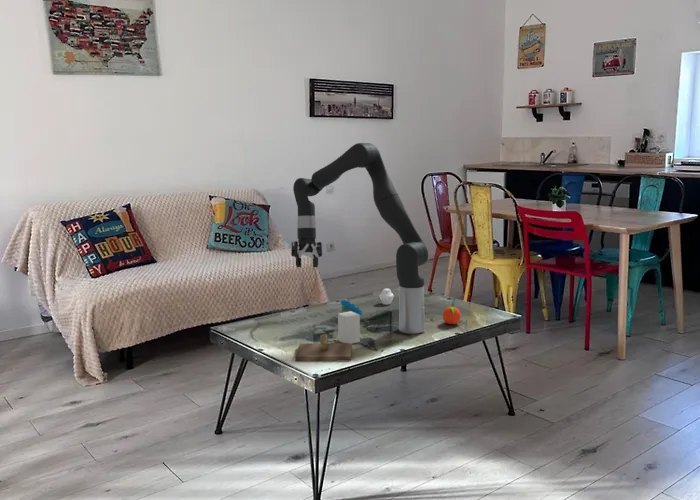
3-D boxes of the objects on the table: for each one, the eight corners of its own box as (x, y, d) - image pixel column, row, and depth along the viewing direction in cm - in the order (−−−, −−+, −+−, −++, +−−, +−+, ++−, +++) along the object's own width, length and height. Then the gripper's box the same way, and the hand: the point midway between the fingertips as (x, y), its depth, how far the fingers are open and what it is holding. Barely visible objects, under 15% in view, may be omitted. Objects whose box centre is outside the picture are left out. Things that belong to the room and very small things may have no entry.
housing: (351, 337, 222) (350, 311, 220) (359, 341, 218) (359, 314, 216) (338, 340, 219) (337, 313, 217) (346, 344, 215) (346, 317, 213)
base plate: (351, 347, 212) (351, 329, 211) (350, 360, 199) (350, 341, 198) (299, 347, 212) (298, 329, 211) (295, 361, 200) (294, 341, 198)
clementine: (462, 327, 232) (463, 309, 231) (444, 327, 232) (444, 309, 231) (459, 321, 240) (459, 303, 239) (441, 321, 240) (441, 304, 239)
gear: (367, 314, 246) (351, 299, 242) (360, 326, 244) (343, 311, 240) (352, 311, 255) (336, 297, 251) (345, 323, 253) (328, 309, 249)
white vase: (393, 301, 270) (393, 286, 269) (393, 305, 264) (393, 289, 263) (379, 301, 270) (379, 286, 269) (379, 305, 264) (379, 289, 263)
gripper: (298, 226, 242) (299, 267, 242) (325, 227, 252) (326, 267, 251) (286, 227, 248) (287, 267, 247) (314, 228, 258) (314, 267, 257)
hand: (307, 267), depth 249 cm, fingers open, 8 cm apart
